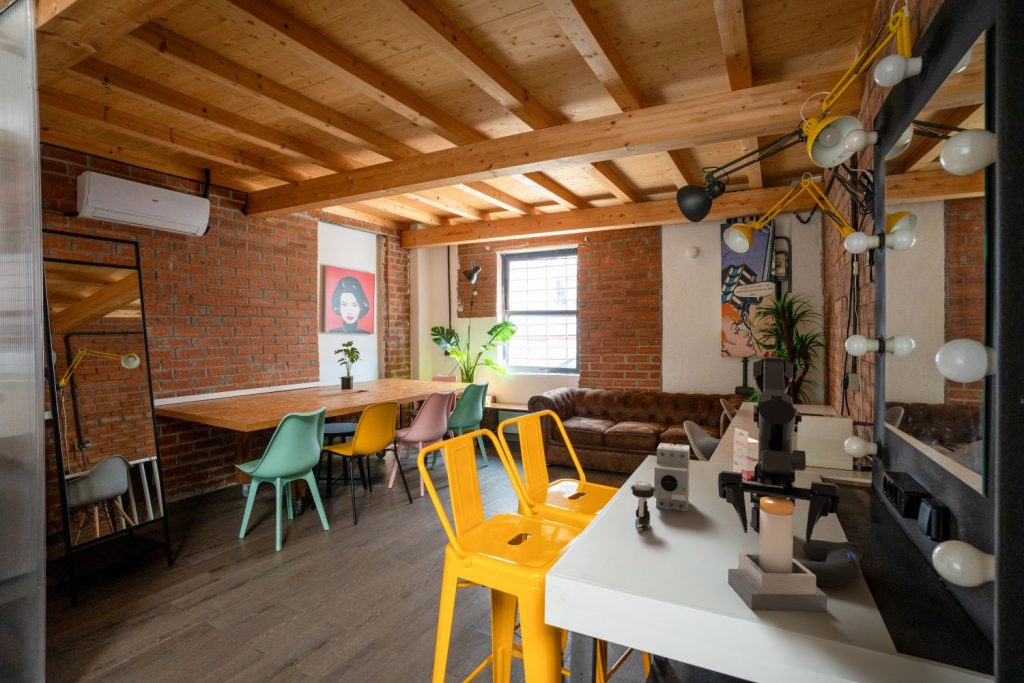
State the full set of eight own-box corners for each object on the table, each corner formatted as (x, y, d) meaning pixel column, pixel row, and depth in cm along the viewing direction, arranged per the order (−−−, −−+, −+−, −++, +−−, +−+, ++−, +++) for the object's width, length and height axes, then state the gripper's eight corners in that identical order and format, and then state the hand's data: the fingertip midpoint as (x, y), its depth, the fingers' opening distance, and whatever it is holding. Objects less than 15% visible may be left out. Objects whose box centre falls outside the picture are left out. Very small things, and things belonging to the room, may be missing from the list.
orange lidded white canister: (772, 572, 90) (773, 495, 90) (798, 584, 85) (800, 504, 85) (752, 577, 88) (753, 498, 88) (778, 591, 83) (780, 508, 83)
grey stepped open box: (796, 583, 91) (796, 552, 91) (826, 611, 82) (827, 576, 82) (728, 582, 91) (728, 551, 91) (751, 609, 82) (751, 575, 82)
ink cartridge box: (762, 480, 157) (763, 432, 157) (746, 480, 157) (747, 432, 157) (747, 472, 166) (748, 427, 166) (732, 473, 165) (733, 427, 165)
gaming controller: (806, 602, 90) (866, 587, 85) (787, 569, 91) (845, 553, 86) (816, 568, 103) (868, 553, 98) (799, 540, 105) (850, 524, 100)
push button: (650, 535, 112) (651, 489, 112) (626, 530, 115) (627, 486, 115) (656, 525, 118) (657, 482, 118) (633, 521, 121) (634, 479, 121)
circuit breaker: (653, 515, 125) (654, 453, 125) (659, 498, 139) (660, 442, 138) (685, 519, 122) (686, 456, 122) (688, 501, 136) (689, 445, 136)
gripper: (719, 426, 94) (714, 504, 84) (839, 436, 86) (848, 523, 76) (721, 460, 101) (716, 535, 92) (832, 472, 93) (839, 555, 84)
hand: (776, 536), depth 86 cm, fingers open, 9 cm apart
